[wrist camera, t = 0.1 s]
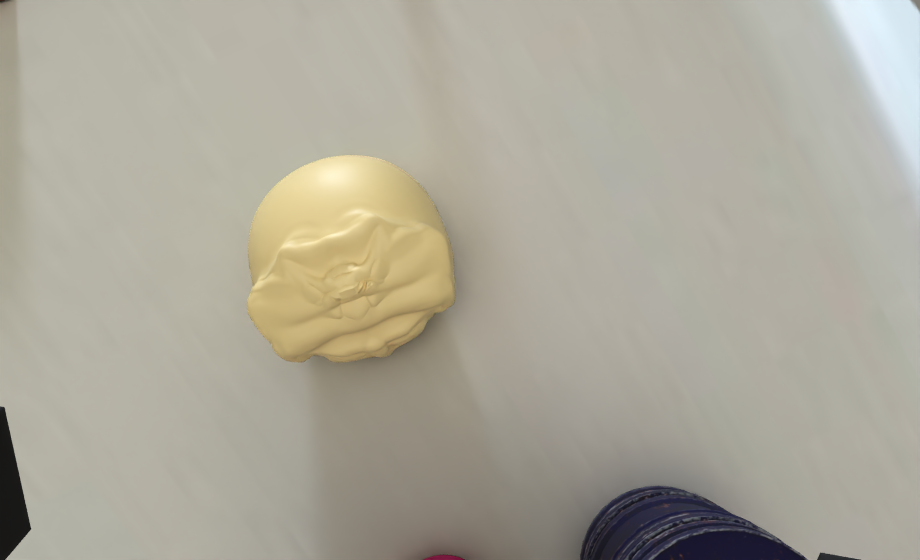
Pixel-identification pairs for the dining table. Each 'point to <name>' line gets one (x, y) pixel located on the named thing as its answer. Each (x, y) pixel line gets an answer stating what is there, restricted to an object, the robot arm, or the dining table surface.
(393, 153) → the dining table surface
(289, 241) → the sculpture
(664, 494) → the dark blue barrel
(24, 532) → the robot arm
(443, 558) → the pepper mill
